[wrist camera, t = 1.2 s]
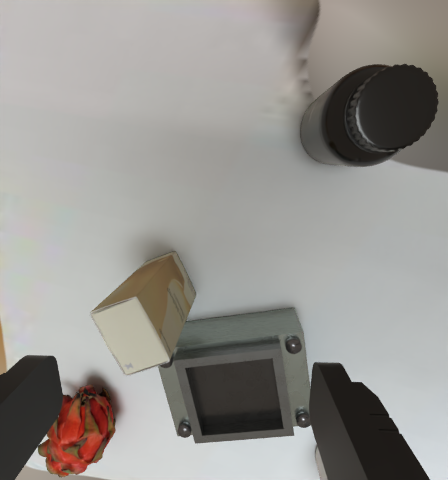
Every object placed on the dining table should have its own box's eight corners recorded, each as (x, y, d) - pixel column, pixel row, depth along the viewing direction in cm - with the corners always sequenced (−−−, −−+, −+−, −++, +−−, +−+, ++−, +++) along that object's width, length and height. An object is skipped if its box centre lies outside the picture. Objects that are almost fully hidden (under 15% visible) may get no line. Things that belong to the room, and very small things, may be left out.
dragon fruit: (89, 428, 42) (106, 357, 41) (120, 472, 38) (140, 393, 36) (24, 461, 36) (41, 377, 34) (51, 519, 31) (73, 424, 29)
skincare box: (197, 294, 34) (173, 365, 22) (165, 306, 34) (125, 381, 22) (174, 247, 32) (136, 295, 20) (142, 260, 33) (86, 314, 21)
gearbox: (294, 307, 33) (306, 341, 27) (305, 389, 36) (318, 437, 30) (165, 324, 35) (148, 359, 29) (185, 401, 38) (174, 448, 32)
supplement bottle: (297, 97, 27) (337, 48, 16) (369, 87, 27) (467, 30, 15) (299, 169, 29) (337, 173, 17) (367, 162, 28) (453, 161, 17)
